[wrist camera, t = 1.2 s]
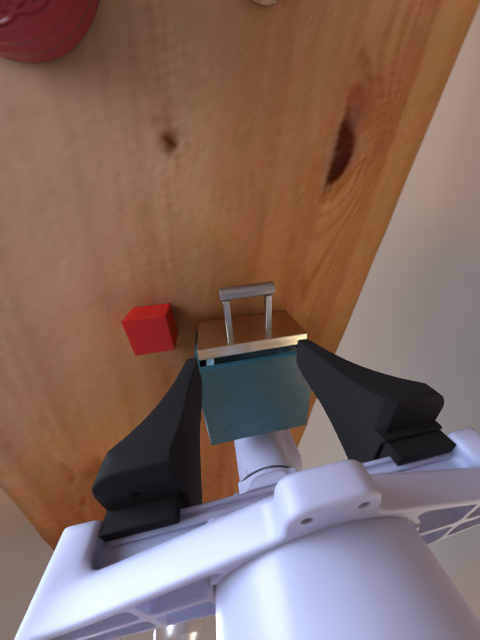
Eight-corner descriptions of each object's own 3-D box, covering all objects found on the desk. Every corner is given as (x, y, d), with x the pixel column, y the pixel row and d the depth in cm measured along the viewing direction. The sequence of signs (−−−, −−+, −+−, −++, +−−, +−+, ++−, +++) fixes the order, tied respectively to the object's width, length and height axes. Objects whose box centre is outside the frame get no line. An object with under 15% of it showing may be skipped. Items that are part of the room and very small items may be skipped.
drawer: (190, 281, 20) (185, 300, 15) (287, 269, 21) (312, 284, 16) (211, 386, 27) (213, 423, 22) (283, 373, 28) (300, 406, 23)
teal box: (196, 332, 23) (192, 372, 17) (287, 318, 25) (316, 351, 18) (209, 396, 29) (211, 445, 22) (284, 382, 30) (306, 424, 24)
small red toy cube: (132, 307, 21) (120, 321, 18) (170, 302, 21) (165, 315, 18) (144, 338, 23) (135, 356, 20) (178, 333, 23) (174, 349, 20)
